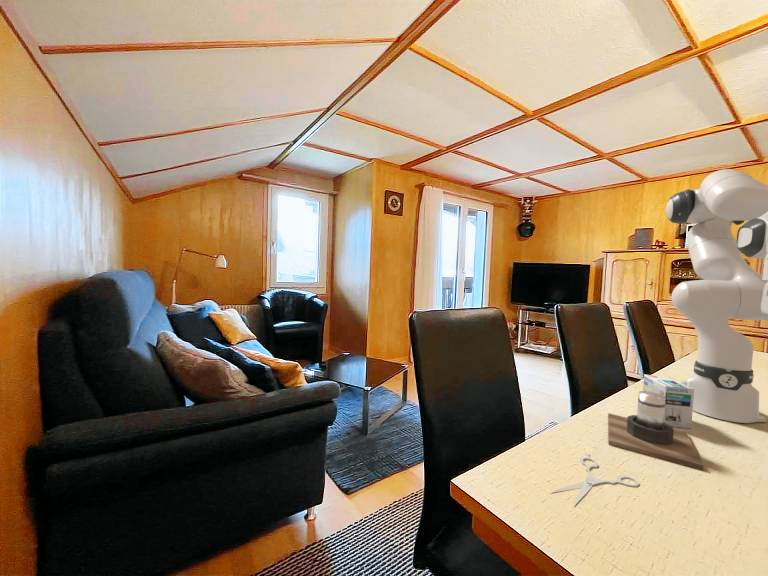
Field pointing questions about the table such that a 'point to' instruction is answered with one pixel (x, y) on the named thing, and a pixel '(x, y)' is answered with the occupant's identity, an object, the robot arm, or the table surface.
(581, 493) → the scissors
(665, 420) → the light bulb box
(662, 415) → the cylinder
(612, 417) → the ring collar board
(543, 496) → the table surface
